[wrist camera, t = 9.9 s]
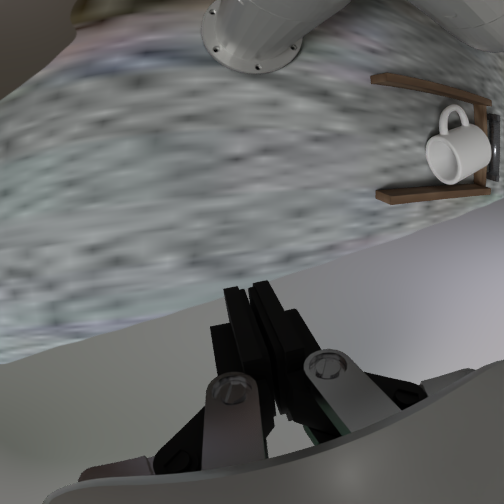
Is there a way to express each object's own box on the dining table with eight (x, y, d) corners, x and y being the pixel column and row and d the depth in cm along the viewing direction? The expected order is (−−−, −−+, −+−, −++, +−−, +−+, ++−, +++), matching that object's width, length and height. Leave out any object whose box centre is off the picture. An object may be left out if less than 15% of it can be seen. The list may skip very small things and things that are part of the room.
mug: (462, 163, 42) (494, 171, 35) (429, 179, 42) (463, 190, 35) (449, 100, 37) (483, 101, 30) (414, 110, 37) (450, 111, 29)
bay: (370, 76, 33) (388, 72, 30) (484, 101, 38) (500, 103, 34) (375, 198, 41) (392, 205, 37) (483, 188, 45) (499, 194, 41)
